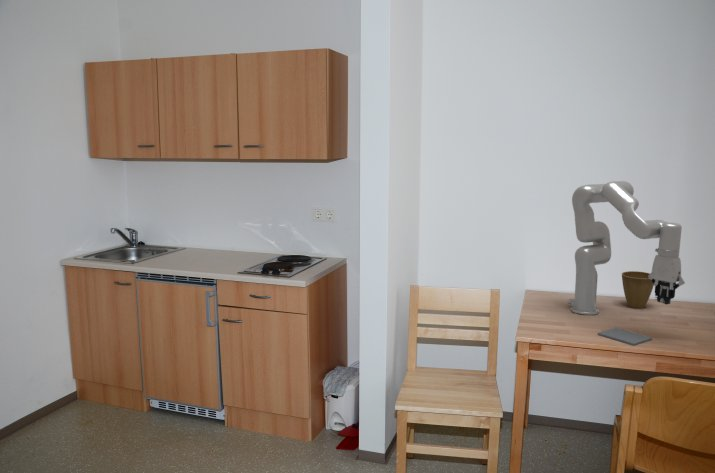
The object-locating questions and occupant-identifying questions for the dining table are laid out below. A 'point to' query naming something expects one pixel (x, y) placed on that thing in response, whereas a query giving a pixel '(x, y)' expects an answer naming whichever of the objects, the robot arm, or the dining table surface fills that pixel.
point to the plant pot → (637, 288)
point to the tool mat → (625, 336)
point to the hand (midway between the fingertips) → (664, 296)
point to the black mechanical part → (664, 293)
